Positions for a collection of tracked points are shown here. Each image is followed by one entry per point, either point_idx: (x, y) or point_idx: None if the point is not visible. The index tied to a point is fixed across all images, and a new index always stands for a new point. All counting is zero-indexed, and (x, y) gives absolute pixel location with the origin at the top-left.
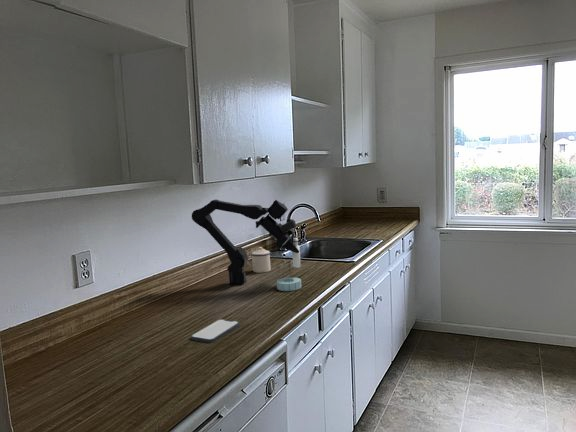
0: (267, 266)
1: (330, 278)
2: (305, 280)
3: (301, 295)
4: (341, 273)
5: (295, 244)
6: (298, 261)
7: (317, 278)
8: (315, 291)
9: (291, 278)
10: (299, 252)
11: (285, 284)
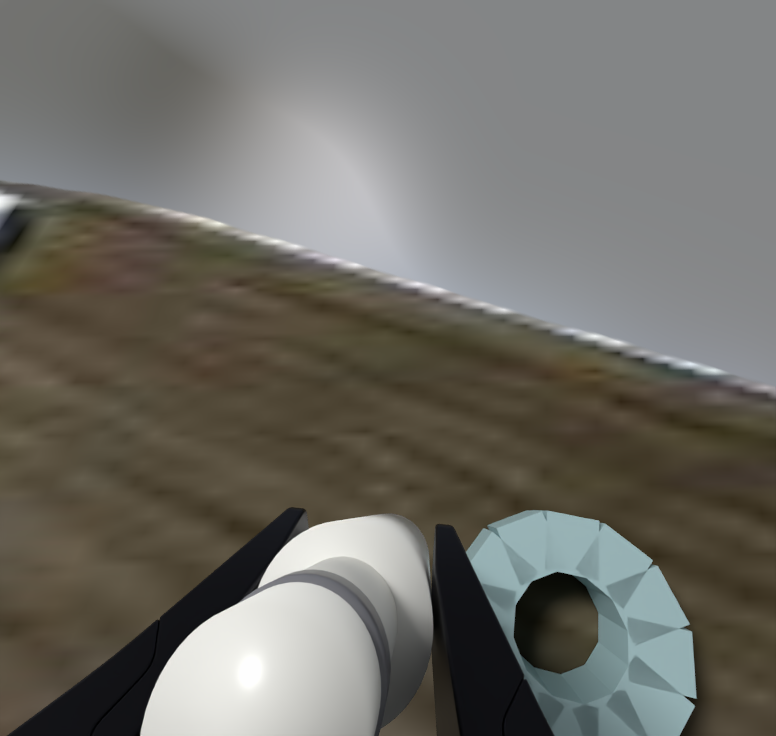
0: None
1: (345, 320)
2: (359, 481)
3: (765, 505)
4: (249, 264)
5: (389, 644)
6: (420, 538)
7: (325, 398)
8: (650, 407)
9: (496, 605)
10: (389, 522)
11: (688, 666)
